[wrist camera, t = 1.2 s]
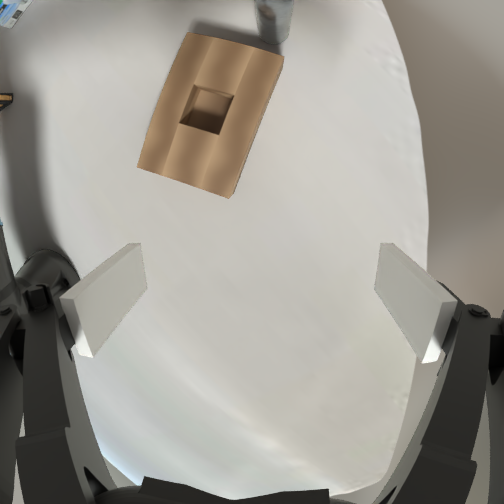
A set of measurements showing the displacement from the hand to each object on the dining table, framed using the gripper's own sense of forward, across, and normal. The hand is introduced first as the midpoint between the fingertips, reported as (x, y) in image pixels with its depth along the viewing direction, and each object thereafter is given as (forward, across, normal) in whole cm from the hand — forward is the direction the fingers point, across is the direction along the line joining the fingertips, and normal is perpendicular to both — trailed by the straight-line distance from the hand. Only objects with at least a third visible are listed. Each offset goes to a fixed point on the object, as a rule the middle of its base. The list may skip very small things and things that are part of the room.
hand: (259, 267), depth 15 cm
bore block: (+24, -6, +11) cm, 27 cm away
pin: (+24, +2, +23) cm, 33 cm away
